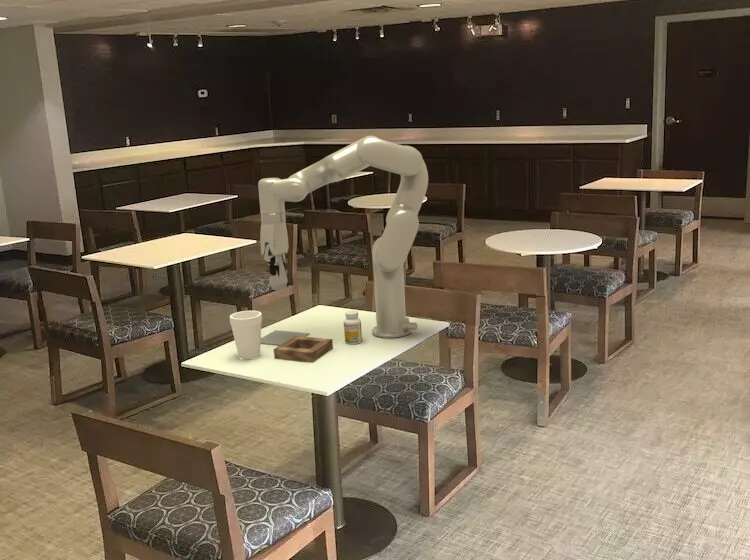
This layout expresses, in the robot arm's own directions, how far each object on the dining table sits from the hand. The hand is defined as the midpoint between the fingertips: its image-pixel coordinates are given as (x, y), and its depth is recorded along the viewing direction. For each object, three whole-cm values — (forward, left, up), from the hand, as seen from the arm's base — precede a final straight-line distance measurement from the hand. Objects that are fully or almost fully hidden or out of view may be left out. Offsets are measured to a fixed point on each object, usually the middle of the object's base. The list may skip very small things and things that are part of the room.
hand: (278, 275), depth 241 cm
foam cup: (+2, +17, -21) cm, 27 cm away
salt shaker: (0, 0, -4) cm, 4 cm away
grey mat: (+1, -1, -21) cm, 21 cm away
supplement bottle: (-23, -4, -21) cm, 32 cm away
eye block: (-13, +10, -21) cm, 27 cm away
